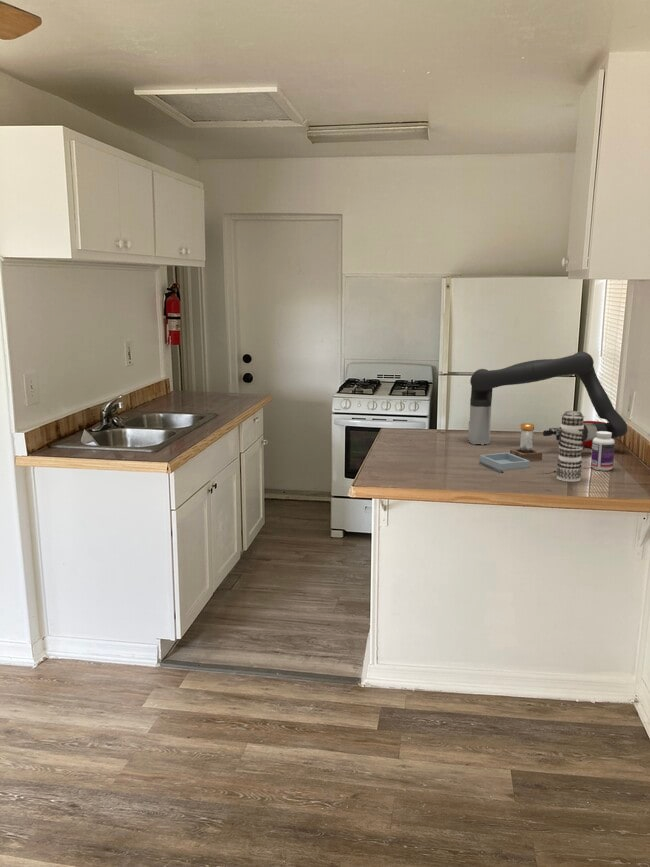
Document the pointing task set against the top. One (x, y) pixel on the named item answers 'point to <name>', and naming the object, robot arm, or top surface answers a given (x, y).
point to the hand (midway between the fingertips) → (550, 435)
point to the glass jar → (526, 438)
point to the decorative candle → (570, 446)
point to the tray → (503, 462)
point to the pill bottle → (602, 451)
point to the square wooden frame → (527, 455)
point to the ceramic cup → (589, 443)
